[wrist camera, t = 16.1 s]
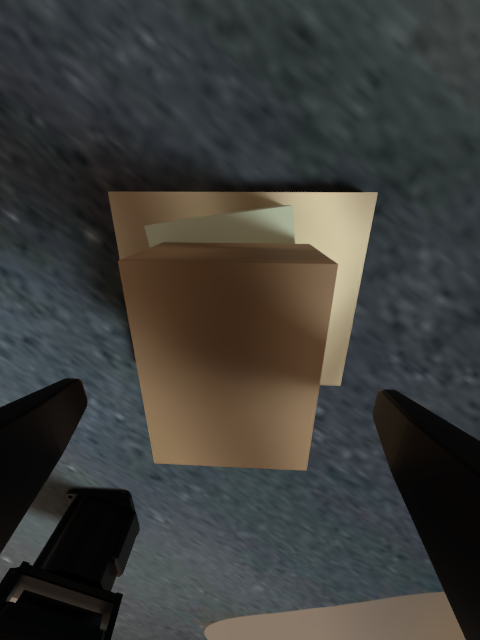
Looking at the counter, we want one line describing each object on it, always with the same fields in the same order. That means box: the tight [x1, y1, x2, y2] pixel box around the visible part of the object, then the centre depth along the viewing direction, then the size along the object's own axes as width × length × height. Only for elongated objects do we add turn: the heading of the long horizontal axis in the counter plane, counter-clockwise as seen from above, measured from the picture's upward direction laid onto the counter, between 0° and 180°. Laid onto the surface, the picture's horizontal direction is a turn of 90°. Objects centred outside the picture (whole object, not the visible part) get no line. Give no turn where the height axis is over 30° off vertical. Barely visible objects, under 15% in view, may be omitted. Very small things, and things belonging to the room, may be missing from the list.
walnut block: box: [118, 242, 338, 470], centre depth 11 cm, size 6×8×4 cm
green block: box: [144, 205, 295, 248], centre depth 14 cm, size 6×10×4 cm, turn 7°
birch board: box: [108, 192, 378, 386], centre depth 17 cm, size 14×12×2 cm
